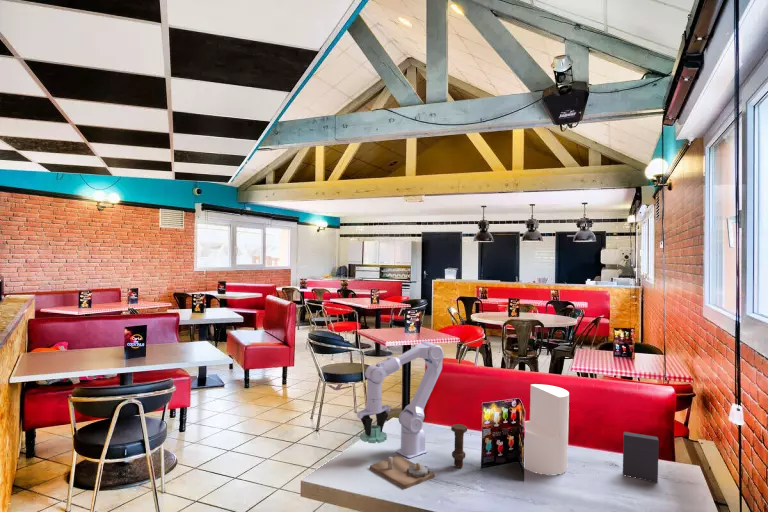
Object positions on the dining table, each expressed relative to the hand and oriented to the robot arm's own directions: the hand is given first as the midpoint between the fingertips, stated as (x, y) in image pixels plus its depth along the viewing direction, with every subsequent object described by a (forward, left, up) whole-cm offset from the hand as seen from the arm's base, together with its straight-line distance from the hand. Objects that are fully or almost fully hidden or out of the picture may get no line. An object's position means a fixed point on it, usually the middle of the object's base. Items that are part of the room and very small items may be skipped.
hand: (373, 433), depth 184 cm
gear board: (-1, +15, -10) cm, 18 cm away
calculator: (-67, +69, -10) cm, 97 cm away
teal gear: (0, 0, -2) cm, 2 cm away
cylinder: (-48, +42, -10) cm, 65 cm away
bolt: (-21, +24, -10) cm, 34 cm away
